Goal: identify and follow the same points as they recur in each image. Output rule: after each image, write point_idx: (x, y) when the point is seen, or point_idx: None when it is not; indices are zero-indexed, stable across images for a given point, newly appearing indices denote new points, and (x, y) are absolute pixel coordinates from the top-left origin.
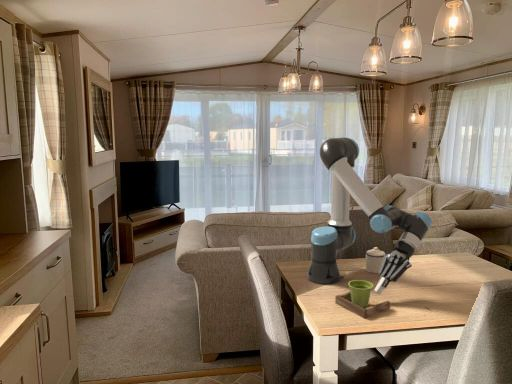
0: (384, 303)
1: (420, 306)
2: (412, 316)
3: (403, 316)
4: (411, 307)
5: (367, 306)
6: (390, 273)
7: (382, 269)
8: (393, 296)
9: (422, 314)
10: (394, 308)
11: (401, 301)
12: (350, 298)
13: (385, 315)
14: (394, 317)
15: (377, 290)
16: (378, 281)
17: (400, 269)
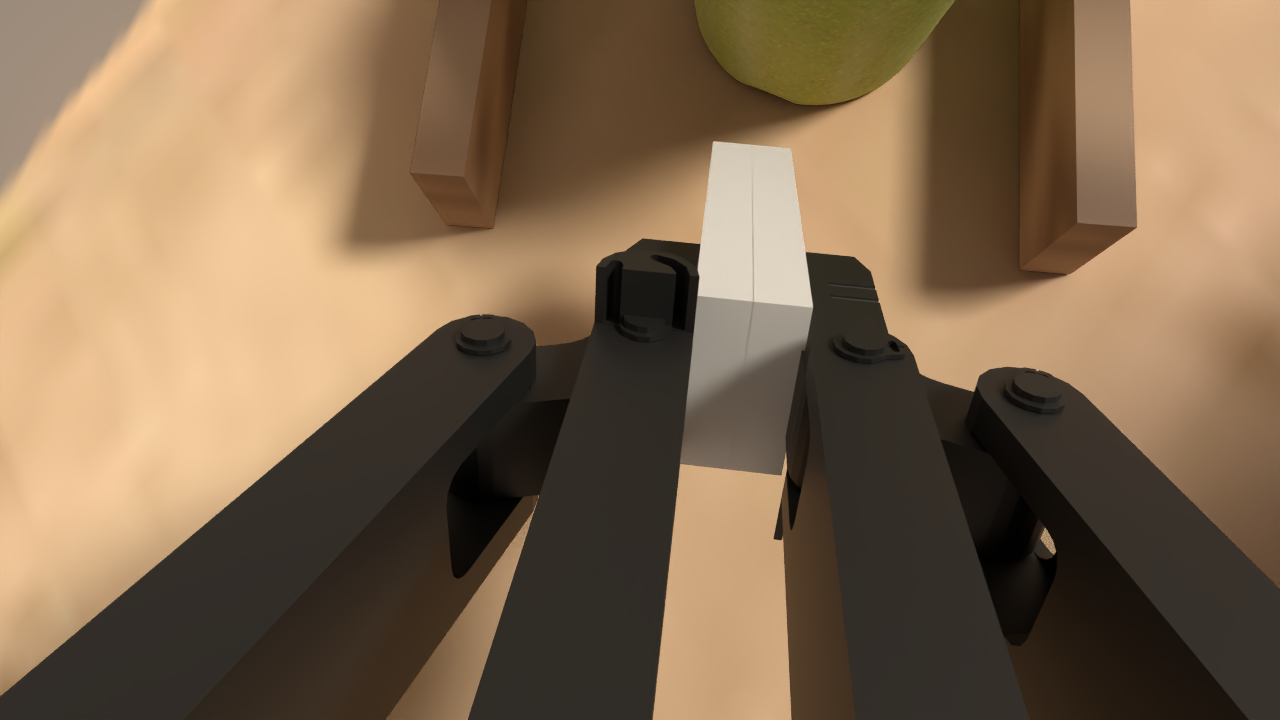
0: (440, 54)
1: None
2: (109, 285)
3: (199, 189)
4: None
5: (700, 31)
6: (591, 420)
7: (1061, 511)
8: (697, 708)
9: (28, 456)
10: (417, 303)
11: (483, 627)
12: (1030, 6)
13: (384, 31)
14: (271, 74)
15: (712, 155)
16: (859, 284)
17: (109, 629)
